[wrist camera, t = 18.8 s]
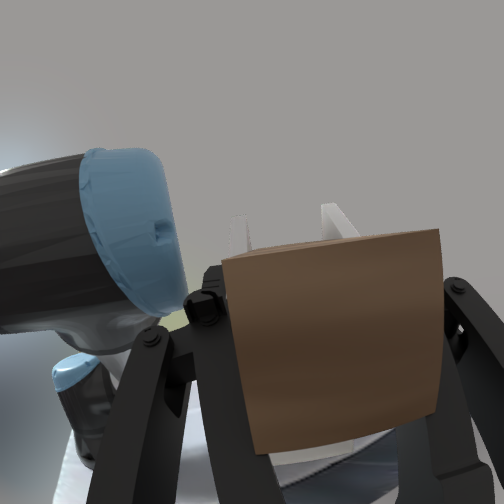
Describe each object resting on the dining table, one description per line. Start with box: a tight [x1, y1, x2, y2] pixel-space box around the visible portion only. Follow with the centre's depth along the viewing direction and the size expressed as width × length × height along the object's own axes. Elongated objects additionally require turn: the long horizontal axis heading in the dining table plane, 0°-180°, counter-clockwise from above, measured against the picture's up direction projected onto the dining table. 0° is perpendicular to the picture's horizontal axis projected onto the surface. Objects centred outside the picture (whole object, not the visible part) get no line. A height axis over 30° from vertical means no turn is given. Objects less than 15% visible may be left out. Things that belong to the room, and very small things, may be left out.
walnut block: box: [221, 229, 444, 455], centre depth 19 cm, size 28×4×4 cm, turn 177°
